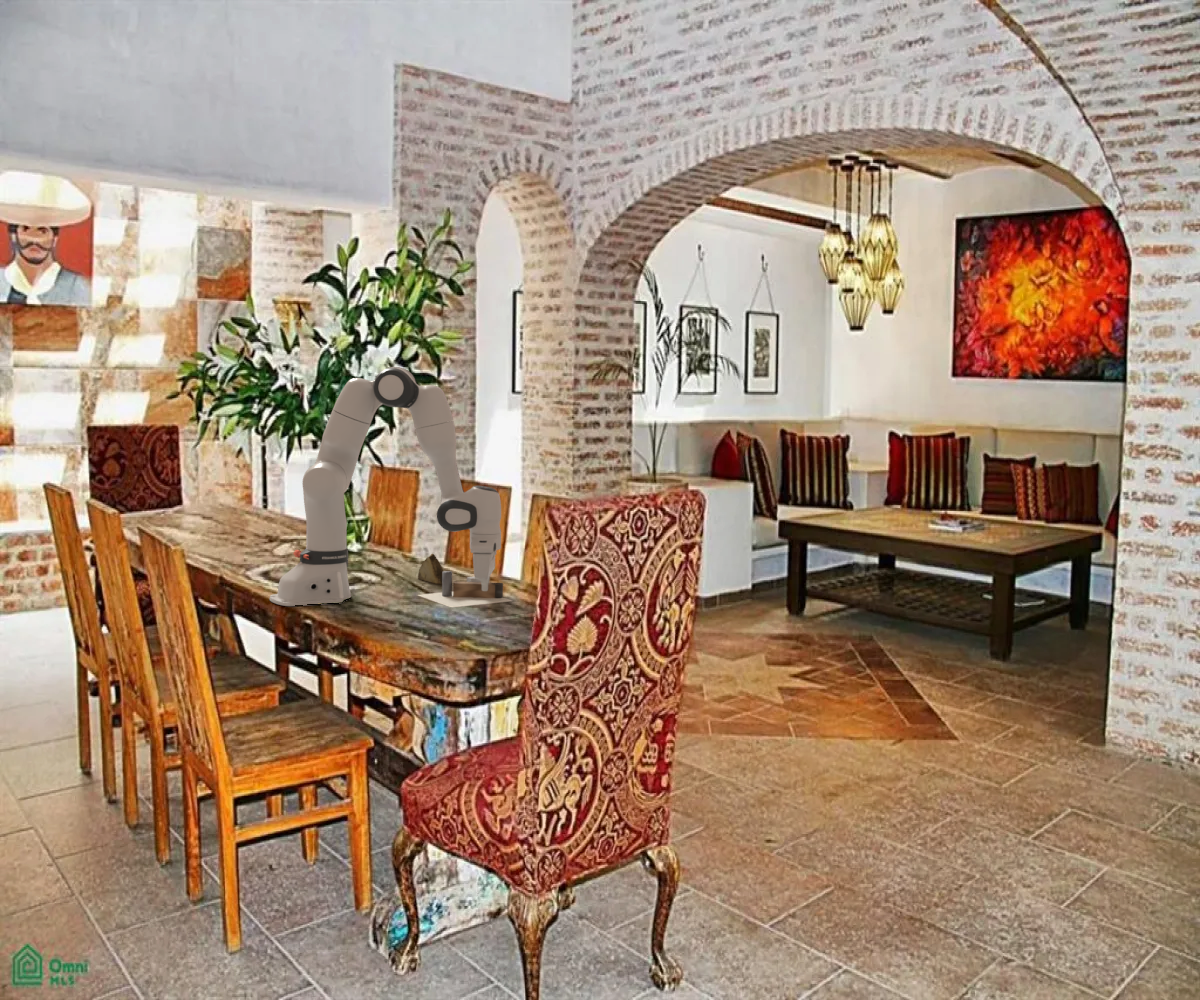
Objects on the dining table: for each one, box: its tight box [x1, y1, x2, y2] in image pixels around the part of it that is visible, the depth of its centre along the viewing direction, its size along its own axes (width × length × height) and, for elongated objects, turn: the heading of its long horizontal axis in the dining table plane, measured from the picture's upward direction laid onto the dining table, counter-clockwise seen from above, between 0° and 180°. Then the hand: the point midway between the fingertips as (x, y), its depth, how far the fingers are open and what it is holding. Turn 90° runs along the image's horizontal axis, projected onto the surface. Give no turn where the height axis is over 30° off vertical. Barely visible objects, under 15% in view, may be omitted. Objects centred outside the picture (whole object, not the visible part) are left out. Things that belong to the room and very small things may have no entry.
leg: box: [452, 581, 504, 598], centre depth 324 cm, size 14×3×4 cm, turn 91°
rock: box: [417, 553, 444, 585], centre depth 347 cm, size 11×9×10 cm
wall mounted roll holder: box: [417, 570, 513, 608], centre depth 321 cm, size 20×20×8 cm
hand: (485, 590), depth 321 cm, fingers closed
